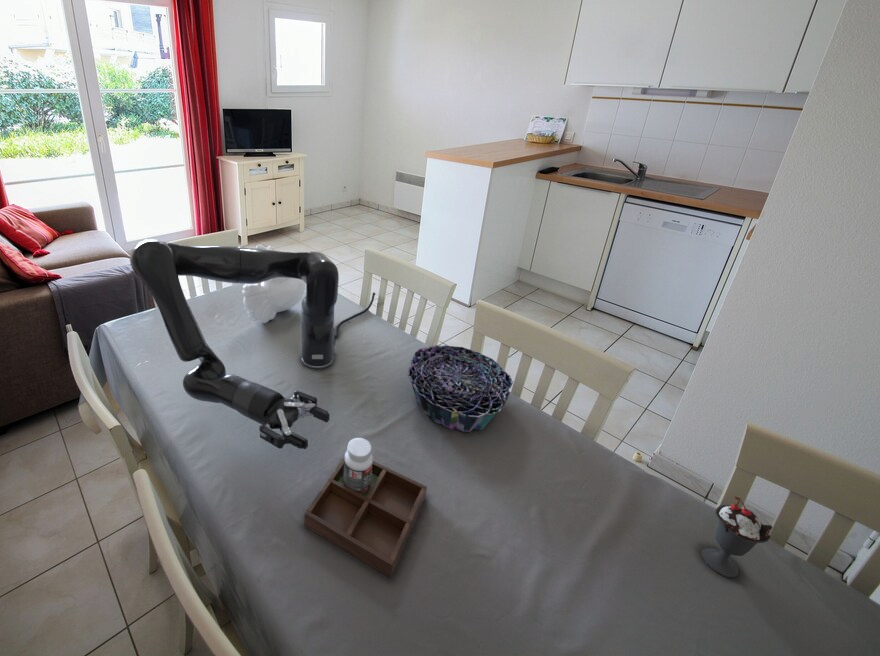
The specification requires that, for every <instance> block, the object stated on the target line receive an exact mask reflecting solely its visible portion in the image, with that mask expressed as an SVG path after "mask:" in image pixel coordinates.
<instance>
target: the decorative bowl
mask: <svg viewBox="0 0 880 656" xmlns="http://www.w3.org/2000/svg"><path fill="white" fill-rule="evenodd" d="M407 377H408V378H409V380H410V383H411V386H412V390H413V393H414V396H415V399H416V400H417V402H418V405H419V406H420V408H421V410H422V412H423V413H424V415H426V416H428V417H430V418H431V419H432V421H433V422H435V423H437V424H438V425H442V426H444V427H445V428H447V429H450V430H454V429H456V430H458V431H460V432H462V433H471V432H472V431H473V430H476V431H481V430H484V429H485V427H486V426H487V425H488V424H489V423H490V421H491V420H492V419H493V418H494V417H495V415H496V414H497V413H500V412H501V411H502V408H503V407H504V406H506V403H507V401H508V399H509V397H510V394H511V392H510V389H511V388H512V386H513V385H514V381H513V379H512V376H511V375H510V374H508V373H507V372H506V370H504V369H503V367H502V366H501V365H500V364H499V363H498V362H497V361H495V360H494V359H493V358H491V357H489V356H487V355H484V354H482V353H481V352H478V351H476V350H472V349H469V348H466V347H463V346H454V345H446V344H445V345H438V344H435V345H429V346H426V347H422V348H421V347H420V348H419V349H417V350H416V351H415V352H414V354H413V356H412V357H411V360H410V361H409V367H408V368H407Z"/></svg>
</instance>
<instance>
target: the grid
mask: <svg viewBox="0 0 880 656" xmlns="http://www.w3.org/2000/svg"><path fill="white" fill-rule="evenodd" d="M344 457H345V455H344ZM344 457H342V459H341V461H340V462H339V464H337V466H336V468H335V469H334V471H333V472H332V473H331V475H330V476H329V478H328V480H327V481H326V482H325V484H324V485H323V486H322V488H321V489H320V491H319V492H318V493H317V495H316V496H315V498H314V499H313V501H312V502H311V503H310V505H309V507H308V508H307V509H306V511H305V512H304V527H305V528H306V529H308V530H310V531H312V532H313V533H315V534H317V535H318V536H320V537H322V538H323V539H325V540H327V541H328V542H330V543H332V544H333V545H335V546H336V547H338V548H339V549H341V550H343V551H345V552H346V553H348V554H350V555H351V556H353V557H354V558H356V559H358V560H359V561H361V562H363V564H366V565H368V566H369V567H371V568H373V569H374V570H376V571H377V572H379V573H381V574H383V575H384V576H385V577H388V578H389V579H392V577H393V574H394V572H395V570H396V567H397V565H398V563H399V560H400V558H401V556H402V553H403V551H404V549H405V546H406V544H407V542H408V539H409V537H410V535H411V533H412V530H413V529H414V526H415V523H416V521H417V519H418V516H419V514H420V512H421V509H422V507H423V505H424V503H425V500H426V496H427V490H428V489H427V488H428V486H426V485H424V484H422V483H420V482H418V481H416V480H414V479H412V478H410V477H407V476H406V475H404V474H402V473H400V472H397V471H395V470H393V469H391V468H389V467H387V466H385V465H383V464H380V463H378V462H376V461H375V460H373V466H372V479H371V486H370V488H369V490H368V491H367V492H366V493H364V494H360V493H358V492H356V491H354V490H352V489H350V488H348V487H347V486H345V485H344V483H343V476H344Z"/></svg>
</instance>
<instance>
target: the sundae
mask: <svg viewBox="0 0 880 656" xmlns="http://www.w3.org/2000/svg"><path fill="white" fill-rule="evenodd" d="M734 499H735V500H737V502H736V503H735V504H734V503H733V504H730V505H729V504H720V505H719V506H717V507H716V508H715V511H714V514H715V516H716V517H717V519H718V522H717V526H716V529H715V535H714V536H715V542H716V543H717V544H718V546H719V547H720V548H721V549H720V550H719V549H715V548H712V547H706V548H704V549H702V551H701V556H702V558H703V560H704V562H705V564H707V565H708V567H710V568H711V570H713V571H714V572H716V573H718V574H719V575H722V576H723V577H727V578H737V577H738V576H739V573H740V572H739V568H738V566H737V564H736V563H735V562H734V560H733V559H731V558H730V556H736V557H743V556H744V555H746V554H747V553H749V552H750V551H751V550H752V549H753V548H754V547H755V546H756V545H757V544H764V543H767V542H769V541H770V539H771V534H770V533H771V531H772V530H773V525H771V524H763V523H762V522H761V519H760V518H759V516H757V514H755V513H754V512H753V511H752V510H749V509H748V508H746V506H745V503H744V502H743V501H742V499H741V497H738V496H734ZM740 503H741V505H742V506H743V507H740V506H739V504H740Z"/></svg>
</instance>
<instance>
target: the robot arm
mask: <svg viewBox="0 0 880 656" xmlns="http://www.w3.org/2000/svg"><path fill="white" fill-rule="evenodd" d="M255 248H256V247H255ZM255 248H253V247H246V246H231V245H229V246H227V245H211V246H209V245H207V246H206V245H205V246H192V245H184V244H179V243H173V242H167V241H163V240H159V239H156V238H148V239H144V240H140V241H139V242H138V243H137V244H135V245H134V246H133V248H132V249H131V251H130V255H129V263H130V267H131V268H132V271H133V272H134V273H135V275H136V276H138V277H139V278H140V280H141V281H142V282H143V284H144V285H145V287H146V289H147V290H148V292H149V293H150V295H151V296H152V298H153V301H154V302H155V304H156V306H157V308H158V310H159V313H160V316H161V318H162V321H163V324H164V327H165V329H166V332H167V334H168V337H169V339H170V341H171V344H172V345H173V348H174V350H175V352H176V355H177V357H178V359H179V360H180V361H182V362H184V363H189V362H193V361H195V360H199V362H200V363H199V364H197V365H196V366H195V367H193V368H192V369H190V371H188V372H187V373H186V374H185V375H184V376H183V378H182V388H183V390H184V391H185V394H187V395H188V396H189V397H191V398H192V399H194V400H197V401H201V402H206V403H213V404H222V405H225V406H226V407H228V408H230V409H233V410H234V411H236V412H238V413H239V414H240V415H242V416H244V417H245V418H248V419H250V420H252V421H254V422H256V423H257V424H260V425H259V426H258V431H259V438H260V439H262V440H263V441H265V442H267V443H269V444H270V445H272V446H274V447H275V448H277V449H279V450H280V449H283V448H284V445H289V444H290V445H292V446H294V447H295V448H297V449H300V450H306V449H307V448H308V447H309V440H308V439H307V438H306V437H304V436H302V435H300V434H298V433H296V432H293V431H292V432H291V430H290V428H292V427H293V425H294V423H295V422H297V421H298V420H299V419H303V418H305V417H308V416H309V417H310V416H313V417H314V418H315V419H318V420H320V421H322V422H325V423H328V422H329V421H330V413H329V411H328V410H326V409H323V408H321V407H319V406H318V397H316V396H313V395H311V394H308V393H305V392H303V391H299V390H294V391H293V396H292V397H291V398H286V397H284V396H283V394H281V392H278V391H275V390H273V389H272V388H270V387H266V386H265V385H263V384H260V383H258V382H255V381H250V380H249V379H246V378H244V377H242V376H239V375H237V374H233V373H229V374H227V369H226V366H225V364H224V362H223V361H222V360H221V359H220V358H219V357H218V355H217V354H216V353H215V351H214V350H213V349H212V348H211V347H210V345H209V344H208V342H207V341H206V339H205V336H204V334H203V332H202V330H201V327H200V325H199V323H198V321H197V319H196V316H195V315H194V313H193V310H192V308H191V306H190V305H189V303H188V300H187V297H186V295H185V293H184V290H183V287H182V285H181V282H180V278H179V277H180V276H182V277H185V276H186V277H195V278H201V279H206V280H210V281H214V282H221V283H228V284H229V283H230V284H240V285H241V284H242V285H246V284H255V285H256V283H260V282H261V283H262V282H264V281H267V280H270V279H273V278H278V277H287V278H296V279H301V280H303V281H304V283H305V291H306V292H305V296H304V297H302V299H301V362H302V364H303V365H305V366H306V367H307V368H310V369H314V370H321V369H325V368H328V367H330V366H331V365H332V364H333V362H334V356H335V345H336V339H338V337H339V330H340V327H341V326H342V325H343V324H345V323H346V322H348V321H351V320H353V319H354V318H355V319H356V317H359V316H361V315H363V314H365V313H366V312H367V311H368V310H370V308H371V307H372V304H373V303H374V300H375V295H376V292H373V293H372V295H371V299H370V302H369V304H368V306H367V307H366V308H365V309H363V310H362V311H360V312H358V313H357V312H356V314H353V315H351V316H349V317H347V318H345V319H343V320H341V321H340V322H339V323H338V324H337V325H336V328H335V306H336V303H337V301H338V296H339V294H338V293H339V280H340V277H339V276H340V275H339V274H340V273H339V269H338V267H337V265H336V264H335V263H334V262H333V261H332V260H331V259H330V258H329V257H327V255H325V254H324V253H322V252H319V251H312V250H311V251H308V250H307V251H279V250H274V249H273V250H274V251H273V250H264V249H255ZM299 409H300V411H299ZM275 430H279V432H280V433H278V432H277V431H275Z"/></svg>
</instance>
